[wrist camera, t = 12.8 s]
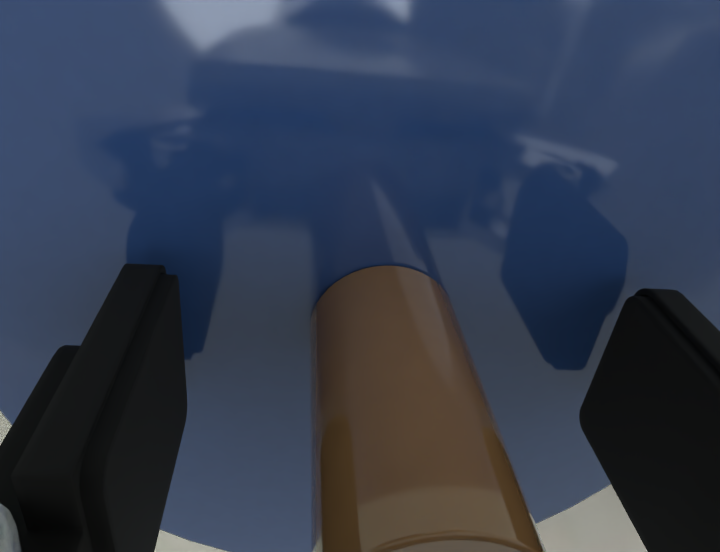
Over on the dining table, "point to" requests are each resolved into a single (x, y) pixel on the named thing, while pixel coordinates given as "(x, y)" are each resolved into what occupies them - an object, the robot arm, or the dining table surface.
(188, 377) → the lid
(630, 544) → the dining table surface
